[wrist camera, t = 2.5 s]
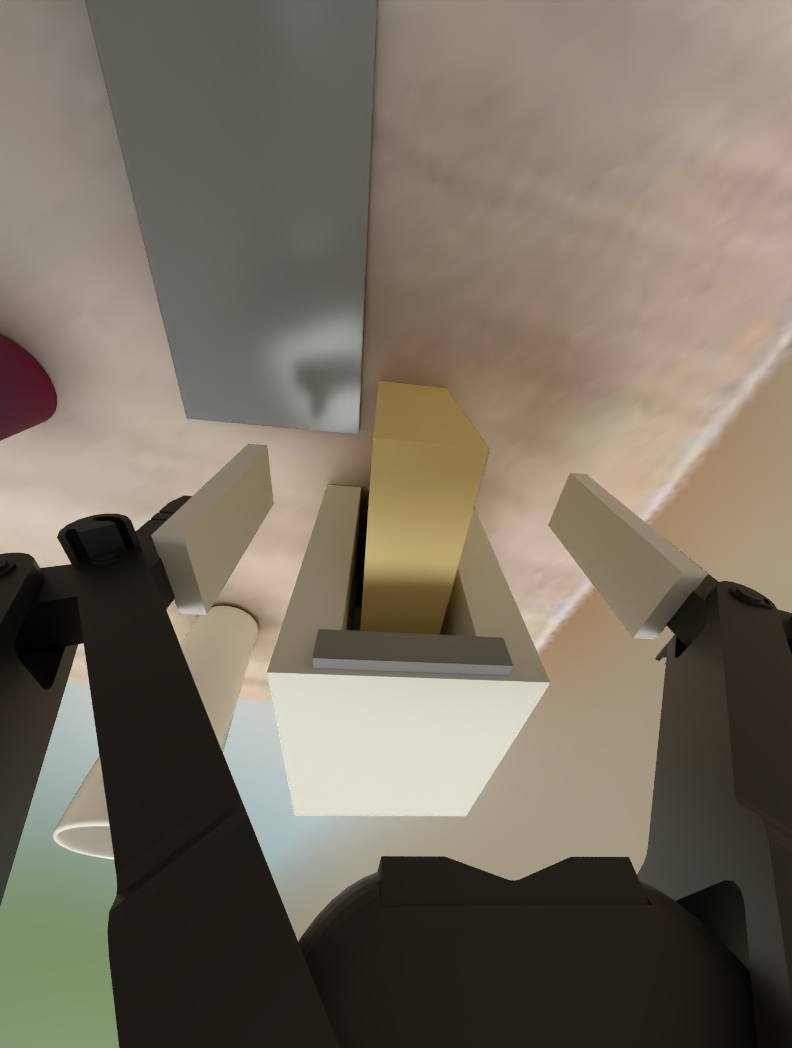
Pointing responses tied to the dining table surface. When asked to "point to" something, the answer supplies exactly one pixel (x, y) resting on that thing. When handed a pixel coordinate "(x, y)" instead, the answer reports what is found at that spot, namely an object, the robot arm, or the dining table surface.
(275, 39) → the slate pad
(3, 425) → the cup
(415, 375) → the dining table surface
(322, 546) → the box
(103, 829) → the drinking glass
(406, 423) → the yellow rectangular block
